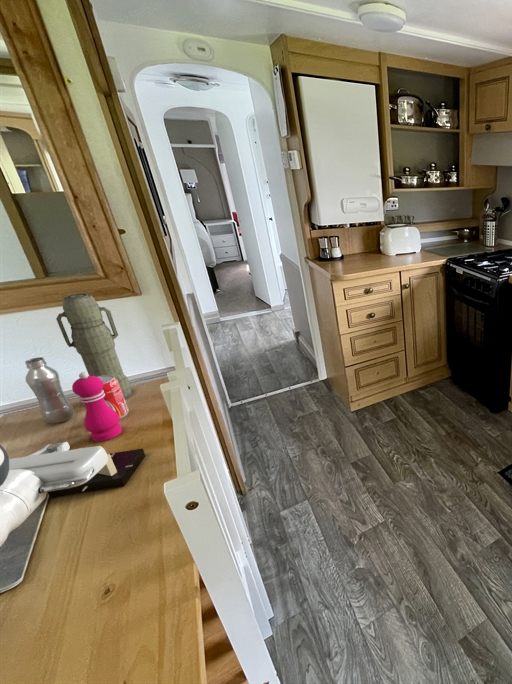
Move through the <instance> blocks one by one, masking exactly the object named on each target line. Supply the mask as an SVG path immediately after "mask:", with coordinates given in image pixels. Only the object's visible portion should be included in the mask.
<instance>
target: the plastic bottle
mask: <svg viewBox="0 0 512 684" xmlns="http://www.w3.org/2000/svg"><path fill="white" fill-rule="evenodd" d="M24 363H25V365H26V369H28V371H27V373H26V375H25V383H26V384H27V385H28V387H29V388H30V390H31V391H32V392H33V394H34V395H35V397H36V399H37V401H38V404H39V408H40V413H41V419H42V420H43V421H44V422H46V423H47V424H59V423H63V422H65V421H68V420H70V419H71V418H72V417H73V416H74V414H75V409H74V406H73V405H72V404H71V403H70V402H69V400H68V399H67V397H66V395H65V393H64V390H63V388H62V385H61V380H60V376H59V373H58V371H57V370H56V369H55V368H53V367H51V366H48V365H47V364H48V363H47V361H46V359H45V358H44V357H34V358H30V359H26V360H25V362H24Z"/></svg>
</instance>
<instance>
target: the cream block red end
mask: <svg viewBox="0 0 512 684" xmlns="http://www.w3.org/2000/svg"><path fill="white" fill-rule="evenodd" d="M81 448H82V447H79V448H78V449H81ZM106 453H107V456H108V462H107V464H106V465H105V466H104V467H103V468H102V469H101V470H100V471H99V472H98V473H99V474H104V475H108V476H112V475H114V474H115V473H117V470H116V468H115V466H114V463H113V461H112V458H111V456H110V454H109V452H106Z"/></svg>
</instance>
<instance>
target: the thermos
mask: <svg viewBox="0 0 512 684" xmlns="http://www.w3.org/2000/svg"><path fill="white" fill-rule="evenodd" d="M62 310H63V311H62V312H61V313H60V312H59V313H58V315H57V316H56V318H55V319H56V323H57V325H58V327H59V329H60V332H61V334H62V336H63V339H64V341H65V343H66V345H67V347H68V348H72V347H73V348H74V349H75V350H76V352H77V354H79V355H80V357H81V359H82V361H83V364H84V367H85V369H86V373H88V375H89V376H96V377H98V376H103V375H113V376H114V378H115V379H116V380H117V381H118V383H119V385H120V388H121V391H122V393H123V396H124V399H125V400H126V399H127V398H129V397H130V396H131V395H132V393H133V392H132V389H131V384H130V380H129V378H128V377H127V376H126V375H125V373H124V371H123V368H122V365H121V362H120V360H119V357H118V353H117V352H116V349H115V346H116V343H115V339H117V337H118V336H119V333H118V330H117V328H116V325H115V322H114V318H113V315H112V311H111V310H110V309H108V308H107V307H105V306H99V304H98V303H97V300H96V299H95V298H94V297H93V295H91V294H88V293H73V294H69V295H66V297H63V299H62ZM102 311H104V312H105V314H106V317H107V319H108V322H109V325H110V328H111V329H110V328H109V327H108V326H107V324H106V323H105V321H104V320H103V314H102ZM62 318H66V320H67V323H68V324H69V325H70V330H71V337H70V338H71V340H72V341H70V339H69V336H68V333H67V331H66V329H65V326H64V323H63V321H62Z"/></svg>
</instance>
